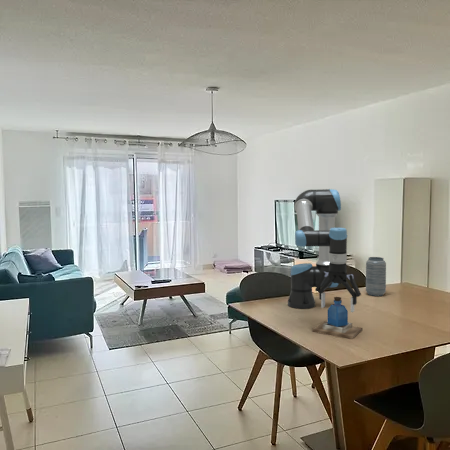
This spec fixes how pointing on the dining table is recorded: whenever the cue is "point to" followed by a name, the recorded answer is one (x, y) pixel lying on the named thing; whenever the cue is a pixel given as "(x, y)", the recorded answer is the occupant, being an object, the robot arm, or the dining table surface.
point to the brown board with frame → (338, 330)
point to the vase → (375, 276)
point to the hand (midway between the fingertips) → (337, 309)
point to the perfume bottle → (337, 313)
